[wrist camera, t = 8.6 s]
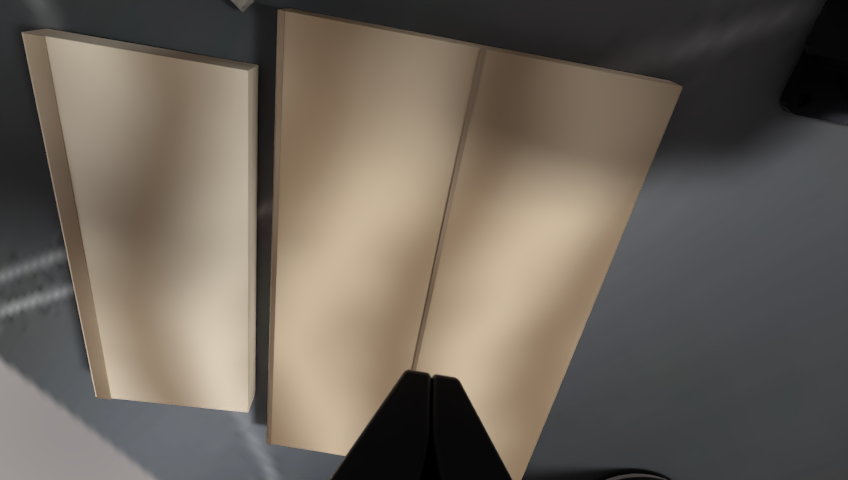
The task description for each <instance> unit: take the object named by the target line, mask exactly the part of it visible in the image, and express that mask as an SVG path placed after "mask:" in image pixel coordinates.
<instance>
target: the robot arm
mask: <svg viewBox="0 0 848 480" xmlns="http://www.w3.org/2000/svg"><path fill="white" fill-rule="evenodd" d="M805 45H806V48H805V50H804V52H803V54H802V56H801V58H800V60H799V62H798V64H797V66H796V67H795V69H794V71H793V73H792V75H791V77H790V79H789V81H788V83H787V85H786V87H785V89H784V91H783V93H782V95H781V99H780V104H781V107H782V108H783V110H785V111H788V112H790V113H793V114H795V115H800V116H806V117H811V118H816V119H821V120H827V121H832V122H837V123H842V124H848V0H827V1H826V3H825V5H824V7H823V9H822V11H821V13H820V15H819V17H818V19H817V21H816V23H815V25H814V27H813V29H812V31H811V33H810V35H809V37H808V39H807V41H806V43H805ZM803 92H804V94H805V95H804V99H803V100H802V101H801V102H800V103H798V104H795V100H796V98H797V96H798V95H799V94H801V93H803ZM329 480H512V478H511V476H510V474H509V472H508V471H507V469H506V467H505V465H504V463H503V461H502V459H501V457H500V455H499V454H498V452H497V450H496V448H495V446H494V444H493V442H492V440H491V439H490V437H489V435H488V433H487V431H486V429H485V427H484V425H483V424H482V422H481V420H480V418H479V416H478V414H477V412H476V410H475V408H474V407H473V405H472V403H471V401H470V399H469V397H468V395H467V393H466V392H465V390H464V388H463V386H462V384H461V382H460V381H459V379H457V378H455V377H451V376H445V375H439V374H435V375H433V376H432V377H431V375H430V374H429V373H427V372H421V371H415V370H410V369H408V370H405V371H404V372H403V374H402V375H401V376H400V378H399V379H398V381H397V382H396V384H395V385H394V387H393V388H392V389H391V391H390V392H389V394H388V395H387V397H386V398H385V400H384V401H383V402H382V404H381V405H380V407H379V408H378V410H377V411H376V413H375V414H374V416H373V417H372V418H371V420H370V421H369V423H368V424H367V426H366V427H365V429H364V430H363V431H362V433H361V434H360V436H359V437H358V439H357V440H356V442H355V443H354V444H353V446H352V447H351V449H350V450H349V452H348V453H347V455H346V456H345V458H344V459H343V460H342V462H341V463H340V465H339V466H338V468H337V469H336V471H335V472H334V473H333V475H332V476H331V478H330V479H329Z"/></svg>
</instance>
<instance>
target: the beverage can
mask: <svg viewBox="0 0 848 480" xmlns="http://www.w3.org/2000/svg"><path fill="white" fill-rule="evenodd" d="M606 480H666V479H664V478H661V477H658V476H654V475H648V474H626V475H620V476H616V477H612V478H609V479H606Z"/></svg>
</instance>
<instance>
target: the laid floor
mask: <svg viewBox="0 0 848 480" xmlns="http://www.w3.org/2000/svg"><path fill="white" fill-rule="evenodd" d="M682 88H683V87H682V86H680V85H678V84H676V83H673V82H671V81H669V80H664V79H659V78H654V77H649V76H643V75H638V74H633V73H628V72H622V71H617V70H612V69H607V68H601V67H596V66H591V65H586V64H581V63H575V62H570V61H565V60H560V59H554V58H549V57H544V56H539V55H533V54H528V53H523V52H518V51H512V50H507V49H502V48H497V47H491V46H486V45H481V44H476V43H471V42H465V41H460V40H455V39H450V38H444V37H439V36H434V35H429V34H423V33H418V32H413V31H408V30H402V29H397V28H392V27H387V26H381V25H376V24H371V23H366V22H361V21H355V20H350V19H345V18H340V17H334V16H329V15H324V14H319V13H313V12H308V11H303V10H298V9H292V8H285V9H278V15H277V54H276V92H275V131H274V170H273V208H272V247H271V286H270V324H269V363H268V402H267V441H266V443H267V444H269V445H271V444H276V445H282V446H288V447H295V448H301V449H307V450H313V451H319V452H325V453H331V454H337V455H343V456H346V455H347V453H348V452H349V450H350V449H351V447H352V446H353V444H354V443H355V442H356V440H357V439H358V437H359V436H360V434H361V433H362V431H363V430H364V429H365V427H366V426H367V424H368V423H369V421H370V420H371V418H372V417H373V416H374V414H375V413H376V411H377V410H378V408H379V407H380V405H381V404H382V402H383V401H384V400H385V398H386V397H387V395H388V394H389V392H390V391H391V389H392V388H393V387H394V385H395V384H396V382H397V381H398V379H399V378H400V376H401V375H402V374H403V372H404V371H405V370H408V369H410V370H415V371H421V372H427V373H429V374H430V375H431V377H432V376H433V375H435V374H439V375H445V376H451V377H455V378H457V379H459V381H460V382H461V384H462V386H463V388H464V390H465V392H466V393H467V395H468V397H469V399H470V401H471V403H472V405H473V407H474V408H475V410H476V412H477V414H478V416H479V418H480V420H481V422H482V424H483V425H484V427H485V429H486V431H487V433H488V435H489V437H490V439H491V440H492V442H493V444H494V446H495V448H496V450H497V452H498V454H499V455H500V457H501V459H502V461H503V463H504V465H505V467H506V469H507V471H508V472H509V474H510V476H511V478H512V480H522V477H523V475H524V472H525V470H526V468H527V465H528V463H529V460H530V458H531V455H532V453H533V450H534V448H535V446H536V443H537V441H538V438H539V436H540V433H541V431H542V429H543V426H544V424H545V421H546V419H547V416H548V414H549V412H550V409H551V407H552V404H553V402H554V399H555V397H556V395H557V392H558V390H559V387H560V385H561V382H562V380H563V378H564V375H565V373H566V370H567V368H568V365H569V363H570V361H571V358H572V356H573V353H574V351H575V348H576V346H577V343H578V341H579V339H580V336H581V334H582V331H583V329H584V326H585V324H586V322H587V319H588V317H589V314H590V312H591V309H592V307H593V305H594V302H595V300H596V297H597V295H598V292H599V290H600V288H601V285H602V283H603V280H604V278H605V275H606V273H607V271H608V268H609V266H610V263H611V261H612V258H613V256H614V254H615V251H616V249H617V246H618V244H619V241H620V239H621V236H622V234H623V232H624V229H625V227H626V224H627V222H628V219H629V217H630V215H631V212H632V210H633V207H634V205H635V202H636V200H637V198H638V195H639V193H640V190H641V188H642V185H643V183H644V181H645V178H646V176H647V173H648V171H649V168H650V166H651V164H652V161H653V159H654V156H655V154H656V151H657V149H658V146H659V144H660V142H661V139H662V137H663V134H664V132H665V129H666V127H667V125H668V122H669V120H670V117H671V115H672V112H673V110H674V108H675V105H676V103H677V100H678V98H679V95H680V93H681V91H682Z"/></svg>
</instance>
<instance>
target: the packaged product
mask: <svg viewBox="0 0 848 480" xmlns="http://www.w3.org/2000/svg"><path fill="white" fill-rule="evenodd" d="M231 1H232V2H233V3H234V4H235V5H236V6H237V7H238V8H239V9H240V10H241V11H242V12H244V11H245V10H246V9H247V8H248V7H249V6H250V5H251V4H252V3H253V2H254V1H255V0H231Z"/></svg>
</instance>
